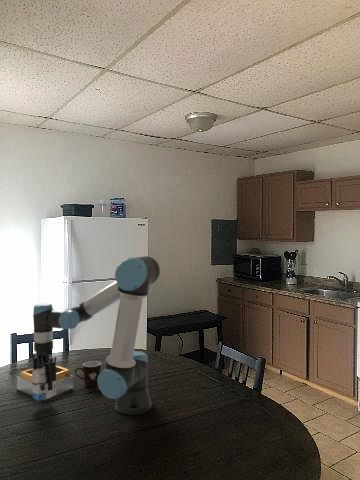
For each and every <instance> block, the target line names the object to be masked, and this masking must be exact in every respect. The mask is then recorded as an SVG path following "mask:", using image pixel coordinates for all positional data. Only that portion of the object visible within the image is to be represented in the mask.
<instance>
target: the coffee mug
mask: <svg viewBox="0 0 360 480" xmlns="http://www.w3.org/2000/svg"><path fill="white" fill-rule="evenodd" d="M101 367H102V362H100V361H97V360H90V361H85V362H84V363H82V367H77V368H76V369H75V370H74V374H75V376H77V378H80V379H81V380H82V381H84V385H85V387H87V388H95V387H98V383H97V379H98V376H99V374H100V373H101ZM77 370H81V371H82V372H83V377H82V376H80V375H78V373H77V372H78V371H77Z"/></svg>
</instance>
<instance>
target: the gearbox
mask: <svg viewBox="0 0 360 480" xmlns="http://www.w3.org/2000/svg"><path fill="white" fill-rule="evenodd" d="M32 371H33V367H32V368H30V369H26V370H24V371H21V372H20V374H19V375H18V376H17V377H16V380H17V381H16V384H17V386H16V390H18V391H20V392H23V393H25V394H28V395H30V396H32V397H33V391H32ZM70 389H71V390H73V389H74V375H72V374H71V373H70V369H68V368H65V367H62V366H57V365H56V395H54V396H52V397H50V398H53V397H56V396H58V395H60V394H62V393H63V394H64V393H66V392H68V391H70ZM65 391H66V392H65ZM50 398H49V399H50ZM45 400H47V399H44V400H43V401H45Z"/></svg>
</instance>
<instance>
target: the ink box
mask: <svg viewBox="0 0 360 480" xmlns="http://www.w3.org/2000/svg"><path fill="white" fill-rule="evenodd" d="M45 382H47V381H46V375H45V369H44V367H43V368H40V369H35V370H33V371H32V391H33V396H32V399H33V400H36V401H38V402H41V401H45V400H44V399H46V392H45ZM52 386H53V389H52V396H53V397H55V396H54V395H56V381H53V382H52ZM56 396H57V395H56ZM46 400H47V399H46Z"/></svg>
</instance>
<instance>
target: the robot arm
mask: <svg viewBox="0 0 360 480" xmlns="http://www.w3.org/2000/svg"><path fill="white" fill-rule="evenodd" d="M115 269H116V270H115V272H114V279H115V281H114V282H112V283H110V284H109V285H107V286H105V288H103V289H101V290H99V291H98V292H96V293H95V294H93V295H92V296H90V297H89V298H87V299H85V300H84V301H81V303H79V304H76V305H74V306H70V307H67V308H64V309H55V308H53V305H52V303H49V302H47V303H45V302H44V303H38V304H35V305H33V314H32V316H33V341H34V342H33V351H34V352H35V353H32V354H31V358H32V368H33V370H35V369H40V368H43V367H44V369H45V375H46V381H47V382H45V392H46V400H48V399H50V397H51V398H53V397H52V389H53V386H52V382H53V381H56V366H57V365H56V362H57V357H56V356H53V354H52V350H53V349H54V340H53V335H54V334H53V329H63V330H73V329H75V328H76V327H77V326H78V325H79V324H81V323H83V322H88V321H89V320H91V319H92V318H93V317H94V316H95V315H97V314H99V313H100V312H101V311H103V310H105V309H106V308H108V307H110V306H111V305H112V304H116V302H118V301H119V304H118V309H117V316H116V321H115V327H114V333H113V337H112V338H113V339H112V346H111V350H110V355H108V356H106V359H105V362H104V368H103V370H100V374H99V376H98V379H97V383H98V385H97V387H98V389H99V391H101V393H102V395H103V396H104V397H106V398H108V399H114V400H115V407H114V408H115V410H116V411H117V412H118V413H120V414H122V415H127V416H128V415H130V416H131V415H132V416H133V415H134V416H135V415H141V414H145V413H146V412H149V411H150V410H151V408H152V399H151V397H150V393H149V389H148V377H149V376H148V374H149V372H148V371H149V369H148V367H149V360H148V354H147V353H146V352H143V351H136V350H135V347H136V346H135V345H136V340H137V335H138V329H139V325H140V318H141V314H142V313H141V311H142V307H143V300H144V299H145V298H146V297H147V296H148V295H149V290H150V289H149V288H150V285H153V284H155V282H157V280H158V279H159V278H160V275H161V267H160V265H159V263H158V261H157V260H156V259H155V258H153V257H151V256H145V255H144V256H139V257H137V256H136V257H129V258H126V259H123V260H122V261H121V262H120V263H118V265H117V266H116V268H115Z"/></svg>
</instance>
